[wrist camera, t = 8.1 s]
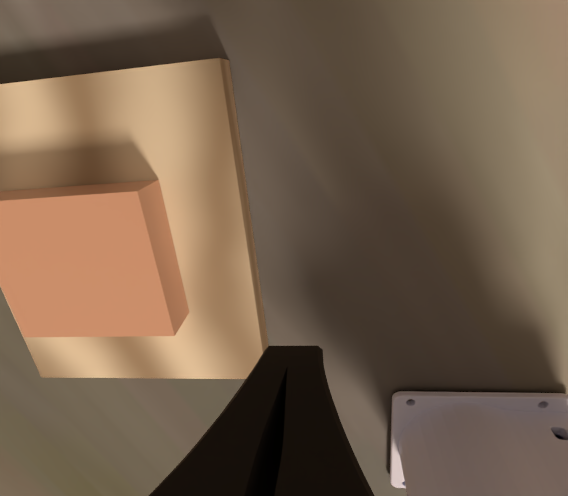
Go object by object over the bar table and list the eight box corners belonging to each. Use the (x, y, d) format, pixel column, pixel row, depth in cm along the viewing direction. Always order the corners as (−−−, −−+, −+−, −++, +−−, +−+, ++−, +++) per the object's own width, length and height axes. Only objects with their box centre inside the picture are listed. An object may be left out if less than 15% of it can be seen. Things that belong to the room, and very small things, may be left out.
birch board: (228, 60, 16) (219, 58, 14) (270, 360, 22) (266, 379, 20) (-55, 94, 18) (-88, 94, 16) (58, 360, 24) (41, 377, 22)
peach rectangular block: (137, 191, 15) (-37, 203, 16) (174, 336, 17) (24, 337, 18) (159, 179, 16) (1, 191, 18) (189, 311, 19) (51, 314, 20)
